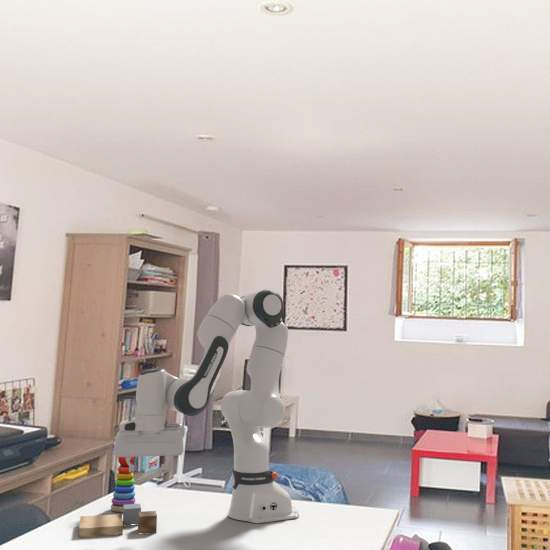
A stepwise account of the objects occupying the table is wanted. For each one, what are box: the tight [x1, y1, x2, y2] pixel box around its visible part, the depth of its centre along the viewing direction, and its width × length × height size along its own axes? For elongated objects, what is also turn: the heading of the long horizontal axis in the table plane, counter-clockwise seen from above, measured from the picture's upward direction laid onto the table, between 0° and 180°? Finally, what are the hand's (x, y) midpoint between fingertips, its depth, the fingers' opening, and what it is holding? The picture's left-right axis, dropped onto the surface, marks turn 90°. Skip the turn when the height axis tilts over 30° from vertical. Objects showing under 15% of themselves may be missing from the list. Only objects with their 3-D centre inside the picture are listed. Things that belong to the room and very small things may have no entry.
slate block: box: [122, 503, 142, 526], centre depth 194 cm, size 5×5×5 cm
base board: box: [78, 513, 124, 538], centre depth 187 cm, size 12×12×2 cm
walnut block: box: [137, 510, 158, 534], centre depth 187 cm, size 5×5×5 cm
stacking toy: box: [110, 456, 136, 513], centre depth 209 cm, size 8×8×19 cm
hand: (147, 471), depth 188 cm, fingers open, 8 cm apart
